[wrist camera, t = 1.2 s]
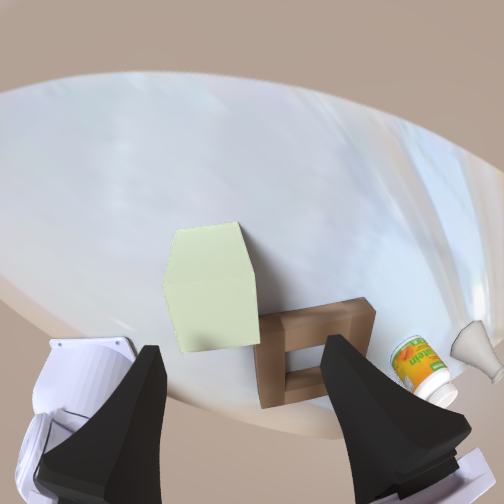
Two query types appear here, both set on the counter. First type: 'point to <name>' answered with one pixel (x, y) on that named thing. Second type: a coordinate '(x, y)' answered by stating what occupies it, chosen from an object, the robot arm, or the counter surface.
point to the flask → (478, 351)
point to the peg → (211, 289)
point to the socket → (304, 336)
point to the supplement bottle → (423, 372)
